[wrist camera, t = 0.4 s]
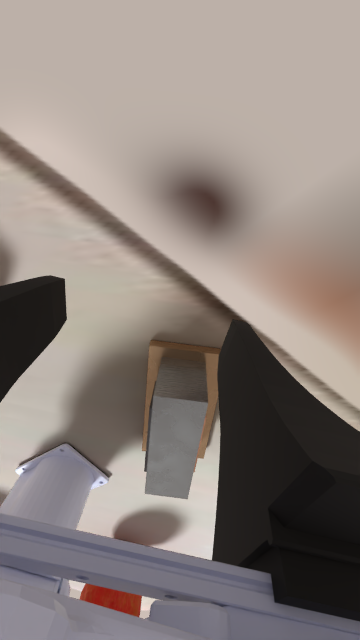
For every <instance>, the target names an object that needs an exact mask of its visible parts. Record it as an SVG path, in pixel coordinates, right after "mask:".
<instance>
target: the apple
mask: <svg viewBox="0 0 360 640" xmlns="http://www.w3.org/2000/svg"><path fill="white" fill-rule="evenodd" d="M141 598H142V596H141V595H136V594H132V593H127V592H123V591H118V590H114V589H109V588H105V587H100V586H96V585H91V584H87V583H86V584H85V586H84V588H83V590H82V592H81V596H80V600H82V601H86V602H89V603H92V604H96V605H99V606H103V607H106V608H109V609H113V610H116V611H119V612H123V613H126V614H129V615H133V616H136V617H139V615H140V608H141Z"/></svg>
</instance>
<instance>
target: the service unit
mask: <svg viewBox="0 0 360 640" xmlns="http://www.w3.org/2000/svg"><path fill="white" fill-rule="evenodd" d="M220 351H221V349H218V348H211V347H203V346H195V345H187V344H179V343H171V342H164V341H156V340H151V342H150V345H149V357H148V371H147V386H146V400H145V415H144V429H143V444H142V451H146V457H145V469H144V471H145V472H147V474H146V486H145V494H151V495H159V496H167V497H174V498H182V499H188V494H189V490H190V485H191V480H192V476H193V472H195V467H196V463H197V458H203V459H204V454H205V450H206V446H207V442H208V437H209V433H210V429H211V425H212V420H213V416H214V412H215V408H216V404H217V399H218V381H217V371H218V357H219V353H220Z"/></svg>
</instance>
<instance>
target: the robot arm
mask: <svg viewBox="0 0 360 640" xmlns="http://www.w3.org/2000/svg"><path fill="white" fill-rule="evenodd" d="M66 320H67V316H66V296H65V279H63V278H59V277H55V276H51V275H50V276H42V277H37V278H33V279H28V280H24V281H20V282H16V283H12V284H8V285H4V286H0V402H1V401H2V399H3V398H4V397H5V395H6V394H7V393H8V391H9V390H10V388H11V387H12V386H13V384H14V383H15V382H16V381H17V380H18V378H19V377H20V376H21V375H22V374H23V373H24V372H25V370H26V369H27V368H28V367H29V366H30V365H31V364H32V363H33V362H34V361H35V359H36V358H37V357H38V356H39V355H40V354H41V353H42V352H43V351H44V349H45V348H46V347H47V346H48V345H49V344H50V343H51V342H52V340H53V339H54V338H55V337H56V335H57V334H58V332H59V331H60V329H61V328H62V326H63V325H64V323H65V321H66ZM217 381H218V397H219V411H220V431H221V436H220V462H219V481H218V496H217V510H216V523H215V534H214V545H213V556H212V560H207V559H203V558H198V557H194V556H189V555H185V554H181V553H176V552H172V551H167V550H163V549H158V548H154V547H149V546H145V545H141V544H136V543H132V542H127V541H123V540H118V539H114V538H109V537H105V536H100V535H96V534H92V533H87V532H83V531H78V530H76V528H77V525H78V523H79V520H80V517H81V514H82V512H83V509H84V506H85V503H86V501H87V498H88V495H89V492H90V490H91V489H94V488H96V487H99V486H101V485H104V484H106V483H108V481H109V478H108V477H107V476H106V475H105V474H103V473H102V472H101V471H100V470H99V469H97V468H96V467H95V466H94V465H93V464H91V463H90V462H89V461H88V460H87V459H85V458H84V457H83V456H82V455H81V454H79V453H78V452H77V451H76V450H75V449H73V448H72V447H71V446H70V445H69V444H62V445H60V446H58V447H56V448H54V449H52V450H50V451H48V452H46V453H44V454H42V455H40V456H38V457H36V458H34V459H32V460H30V461H28V462H26V463H24V464H22V465H21V466H19V467H17V468H16V470H15V471H16V473H18V474H19V475H20V477H19V478H18V480H17V481H16V483H15V484H14V486H13V488H12V489H11V491H10V492H9V494H8V495H7V497H6V499H5V500H4V502H3V503H2V505H1V506H0V640H360V432H359V431H358V430H356V429H355V428H353V427H352V426H351V425H349V424H348V423H347V422H345V421H344V420H343V419H341V418H340V417H339V416H337V415H336V414H335V413H333V412H332V411H331V410H330V409H328V408H327V407H326V406H325V405H324V404H322V403H321V402H320V401H319V400H317V399H316V398H315V397H314V396H313V395H312V394H311V393H309V392H308V391H307V390H306V389H305V388H304V387H303V386H302V385H301V384H300V383H299V382H298V381H297V380H296V379H295V378H294V377H293V376H292V375H291V374H290V373H289V372H288V371H287V370H286V369H285V368H284V367H283V366H282V365H281V364H280V363H279V361H278V360H277V359H276V358H275V357H274V356H273V354H272V353H271V352H270V351H269V350H268V348H267V347H266V346H265V345H264V343H263V342H262V341H261V340H260V338H259V337H258V336H257V334H256V333H255V332H254V331H253V329H252V328H251V327H250V326H249V324H248V323H246V322H242V321H238V320H234V319H233V320H232V323H231V325H230V328H229V330H228V333H227V335H226V338H225V341H224V343H223V346H222V348H221V351H220V353H219V357H218V371H217ZM69 580H73V581H78V582H82V583H87V584H91V585H96V586H100V587H105V588H109V589H114V590H118V591H123V592H127V593H132V594H136V595H141V596H145V597H150V598H154V599H159V600H155V601H154V602H153V603H152V604H151V608H150V615H149V617H148V618H146V619H143V618H139V617H136V616H133V615H129V614H126V613H123V612H119V611H116V610H113V609H109V608H106V607H103V606H99V605H96V604H92V603H89V602H86V601H82V600H79V599H76V598H72V597H69V593H70V585H69ZM162 600H163V601H162Z"/></svg>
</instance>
